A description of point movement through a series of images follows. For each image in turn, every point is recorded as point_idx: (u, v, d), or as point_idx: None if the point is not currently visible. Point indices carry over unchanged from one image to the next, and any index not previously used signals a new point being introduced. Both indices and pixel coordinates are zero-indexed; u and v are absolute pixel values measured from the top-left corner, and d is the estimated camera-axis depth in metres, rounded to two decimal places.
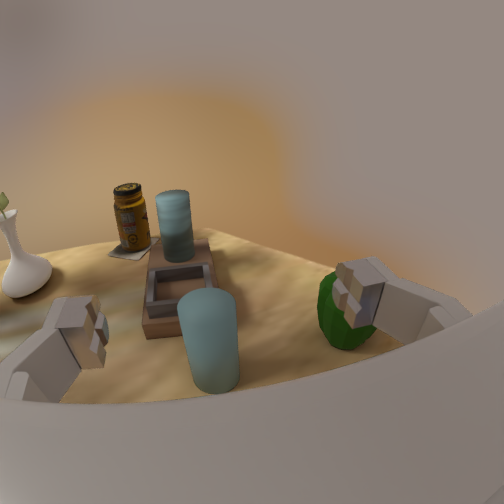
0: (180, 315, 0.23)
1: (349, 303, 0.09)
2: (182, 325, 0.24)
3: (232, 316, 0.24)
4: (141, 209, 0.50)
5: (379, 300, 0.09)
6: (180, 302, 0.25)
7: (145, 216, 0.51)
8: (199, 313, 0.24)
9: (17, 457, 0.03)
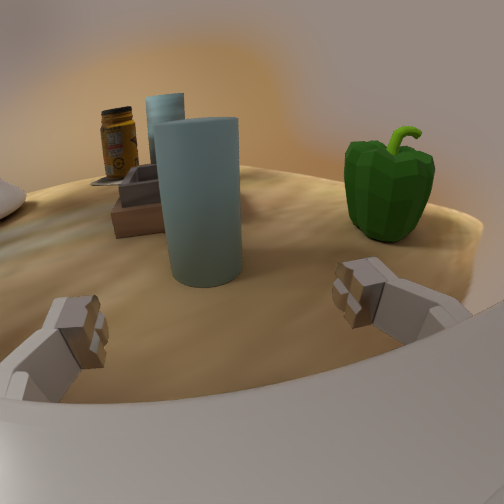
0: (156, 125, 0.15)
1: (349, 303, 0.09)
2: (157, 142, 0.15)
3: (232, 123, 0.15)
4: (130, 129, 0.41)
5: (380, 300, 0.09)
6: None
7: (134, 139, 0.43)
8: (184, 122, 0.15)
9: (17, 457, 0.03)
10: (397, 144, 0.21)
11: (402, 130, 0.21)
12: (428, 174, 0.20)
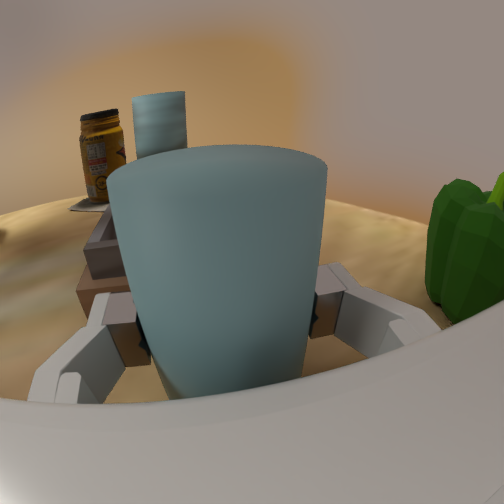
0: (111, 184, 0.05)
1: None
2: (118, 231, 0.06)
3: (323, 185, 0.06)
4: (116, 139, 0.32)
5: (340, 310, 0.09)
6: (126, 165, 0.07)
7: (122, 151, 0.33)
8: (187, 173, 0.06)
9: (17, 457, 0.03)
10: None
11: None
12: None
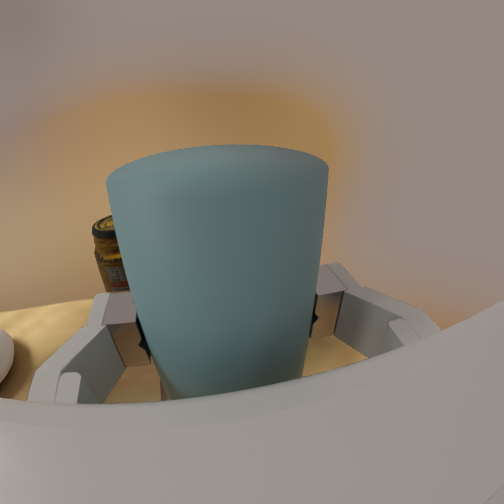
0: (111, 184, 0.05)
1: None
2: (118, 231, 0.06)
3: (324, 185, 0.06)
4: None
5: (339, 310, 0.09)
6: (126, 165, 0.07)
7: None
8: (187, 174, 0.06)
9: (17, 457, 0.03)
10: None
11: None
12: None
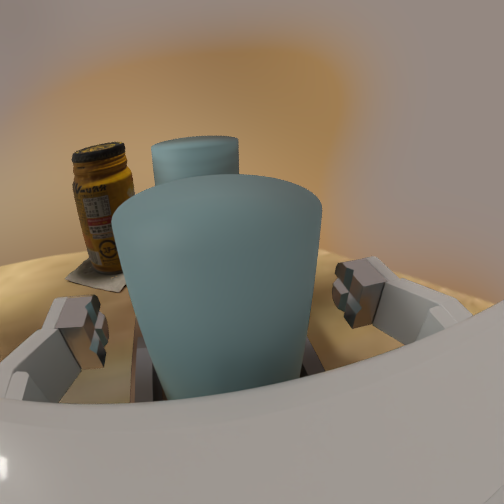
0: (116, 228, 0.06)
1: (349, 303, 0.09)
2: (125, 271, 0.06)
3: (317, 228, 0.06)
4: (123, 189, 0.24)
5: (380, 300, 0.09)
6: (129, 200, 0.07)
7: None
8: (188, 218, 0.06)
9: (17, 457, 0.03)
10: None
11: None
12: None
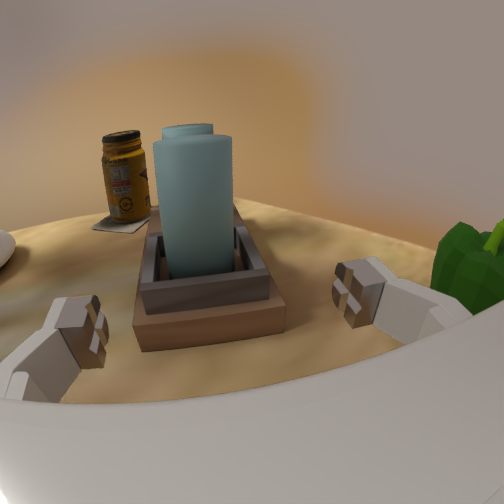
0: (155, 145, 0.16)
1: (349, 303, 0.09)
2: (157, 161, 0.17)
3: (226, 144, 0.17)
4: (139, 162, 0.34)
5: (379, 300, 0.09)
6: (158, 141, 0.18)
7: (144, 173, 0.36)
8: (181, 142, 0.17)
9: (17, 457, 0.03)
10: (499, 242, 0.15)
11: None
12: None
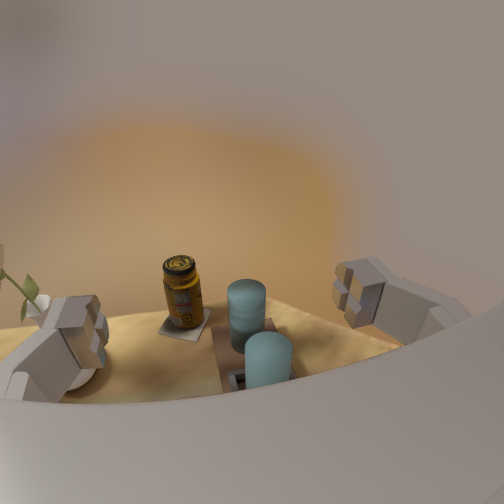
0: (250, 358, 0.28)
1: (349, 303, 0.09)
2: (250, 365, 0.29)
3: (291, 356, 0.29)
4: (197, 287, 0.47)
5: (379, 300, 0.09)
6: (246, 345, 0.30)
7: (200, 293, 0.48)
8: (265, 355, 0.29)
9: (17, 457, 0.03)
10: None
11: None
12: None
